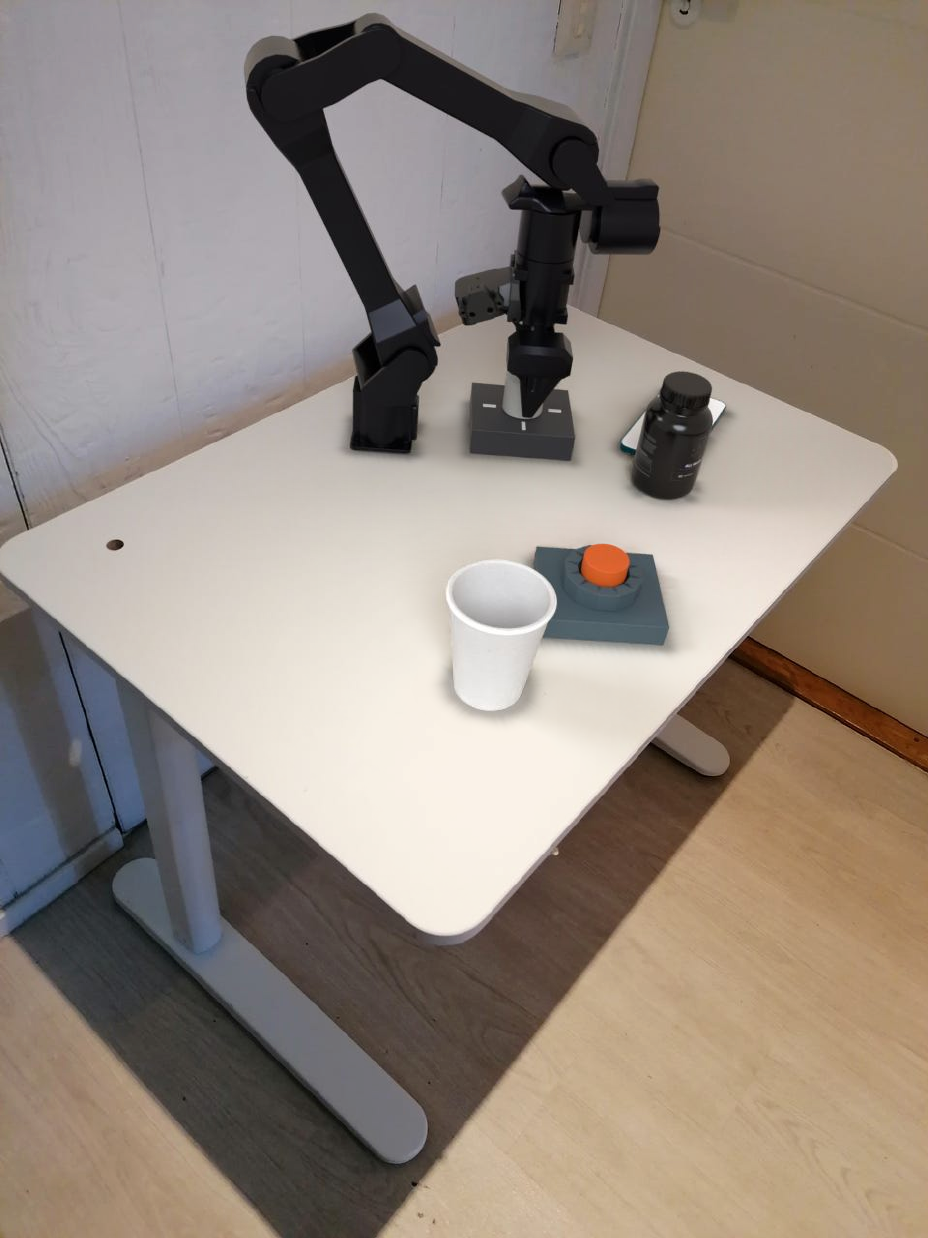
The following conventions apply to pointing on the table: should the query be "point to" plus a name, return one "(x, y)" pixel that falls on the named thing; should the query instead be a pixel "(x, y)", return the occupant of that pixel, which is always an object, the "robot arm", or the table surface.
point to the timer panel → (520, 426)
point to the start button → (605, 565)
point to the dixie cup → (496, 629)
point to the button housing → (603, 600)
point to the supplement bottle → (673, 437)
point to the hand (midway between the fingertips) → (525, 394)
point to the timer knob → (514, 398)
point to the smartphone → (632, 436)
